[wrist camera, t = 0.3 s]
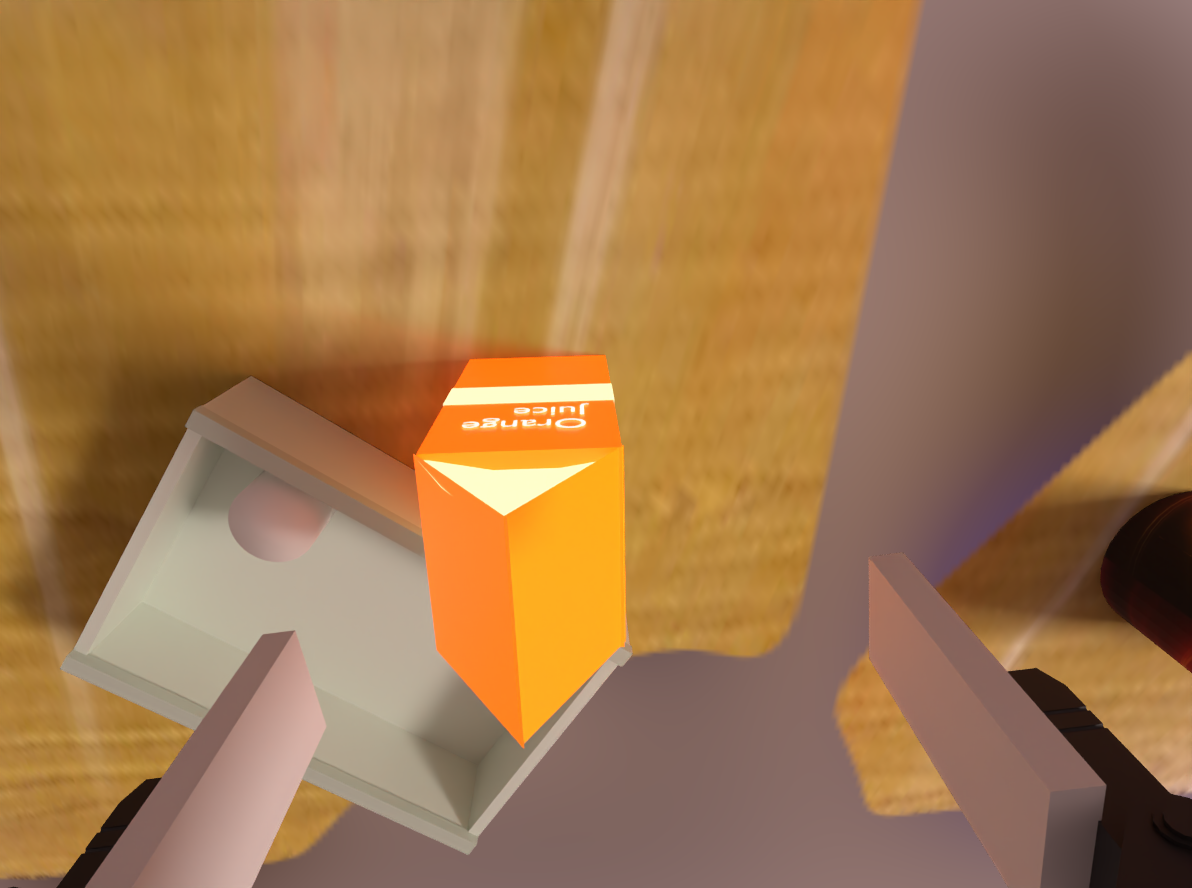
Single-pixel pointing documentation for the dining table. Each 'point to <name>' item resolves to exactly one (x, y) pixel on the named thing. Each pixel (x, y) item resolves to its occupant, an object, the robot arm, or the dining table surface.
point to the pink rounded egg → (276, 519)
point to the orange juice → (525, 531)
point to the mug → (1155, 575)
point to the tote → (311, 618)
